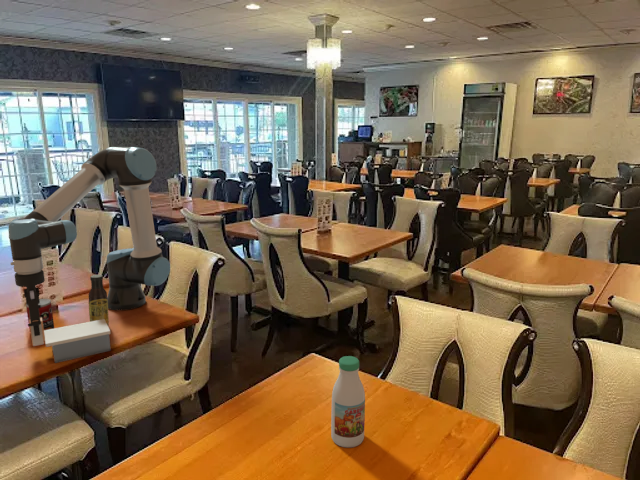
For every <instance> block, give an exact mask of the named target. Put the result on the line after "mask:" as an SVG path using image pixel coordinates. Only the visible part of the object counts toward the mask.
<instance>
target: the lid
mask: <svg viewBox="0 0 640 480" xmlns="http://www.w3.org/2000/svg"><path fill="white" fill-rule="evenodd" d="M36 321H38V320H36ZM40 321H41V326H42V334H43V342H44V344H45V347H46V348H47V347H52V346H54V345H58V344H63V343H68V342H73V341H78V340H83V339H87V338H92V337H97V336H102V335H107V334H109V335H111V329H110V327H109V326H108V325H107V323H106V321H105V319H101V320H96V321H91V322H90V321H87V322H82V323H81V322H80V323H76V324H69V325H65V326H59V327H54V329H49V330H44V328H43V320H42V317H41V318H40ZM33 322H34V321H33ZM30 323H31V321H30V320H29V323H28V324H30ZM29 332H31V326H30V329H29ZM30 336H31V344H32V346H33V340H32V333H30Z"/></svg>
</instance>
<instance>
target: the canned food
mask: <svg viewBox="0 0 640 480" xmlns="http://www.w3.org/2000/svg"><path fill="white" fill-rule="evenodd" d="M39 300H40V303H39V304H38V305H41V308H39V314H40V318H41V317H42V320H43V328H44V330H49V329H54V328H55V323H54V314H53V307H52V306H53V305H52V301H51V299H49V298H39ZM25 307H26V316H27V321H28V322H27V324H29V320H30V314H29V306H28V305H27V304H25ZM28 330H30V326H29V327H28ZM29 332H30V331H29ZM30 334H31V332H30Z"/></svg>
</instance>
